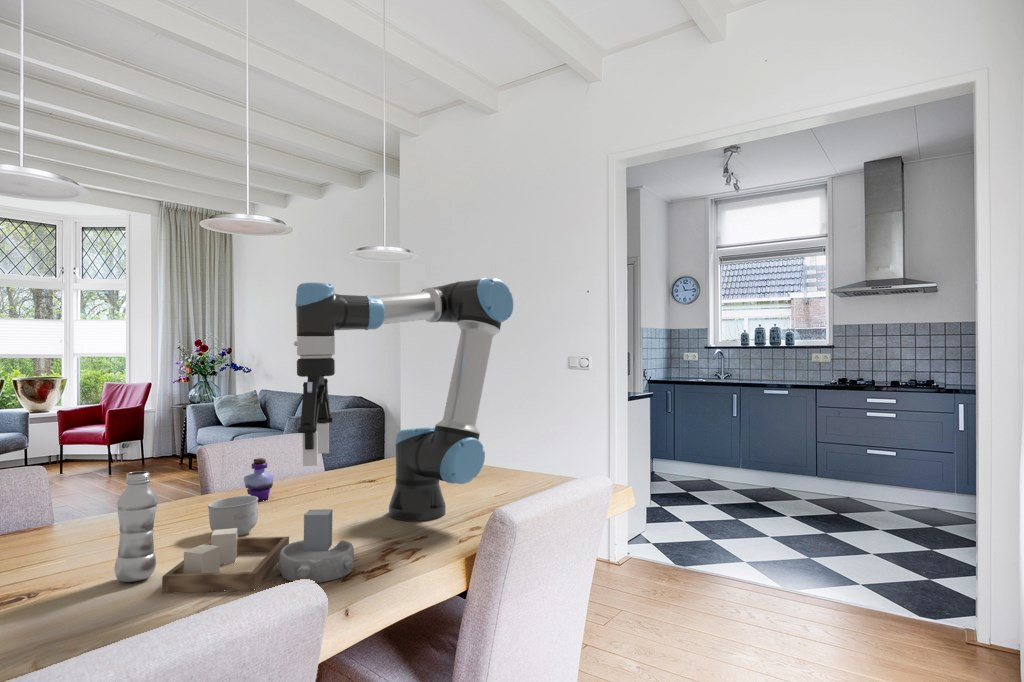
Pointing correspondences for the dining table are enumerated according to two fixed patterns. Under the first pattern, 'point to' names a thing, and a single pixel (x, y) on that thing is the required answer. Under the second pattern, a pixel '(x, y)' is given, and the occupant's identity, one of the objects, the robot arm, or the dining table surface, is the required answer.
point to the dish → (316, 562)
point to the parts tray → (228, 580)
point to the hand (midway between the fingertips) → (316, 459)
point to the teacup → (234, 513)
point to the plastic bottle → (136, 529)
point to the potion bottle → (259, 480)
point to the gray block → (317, 530)
